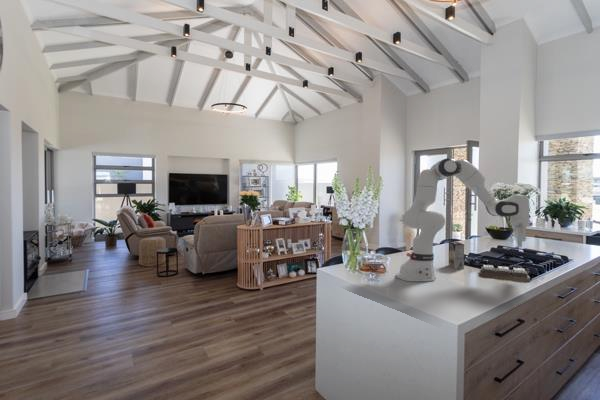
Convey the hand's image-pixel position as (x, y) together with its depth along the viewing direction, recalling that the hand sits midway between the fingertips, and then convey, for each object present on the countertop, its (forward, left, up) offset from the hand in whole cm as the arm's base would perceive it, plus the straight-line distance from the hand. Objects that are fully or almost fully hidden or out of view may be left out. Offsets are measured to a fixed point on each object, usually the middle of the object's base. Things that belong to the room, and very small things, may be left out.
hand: (519, 246), depth 174 cm
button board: (-5, +5, -18) cm, 20 cm away
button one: (-5, +5, -15) cm, 16 cm away
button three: (-11, +11, -15) cm, 21 cm away
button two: (0, 0, -15) cm, 15 cm away
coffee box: (-14, +32, -19) cm, 40 cm away
